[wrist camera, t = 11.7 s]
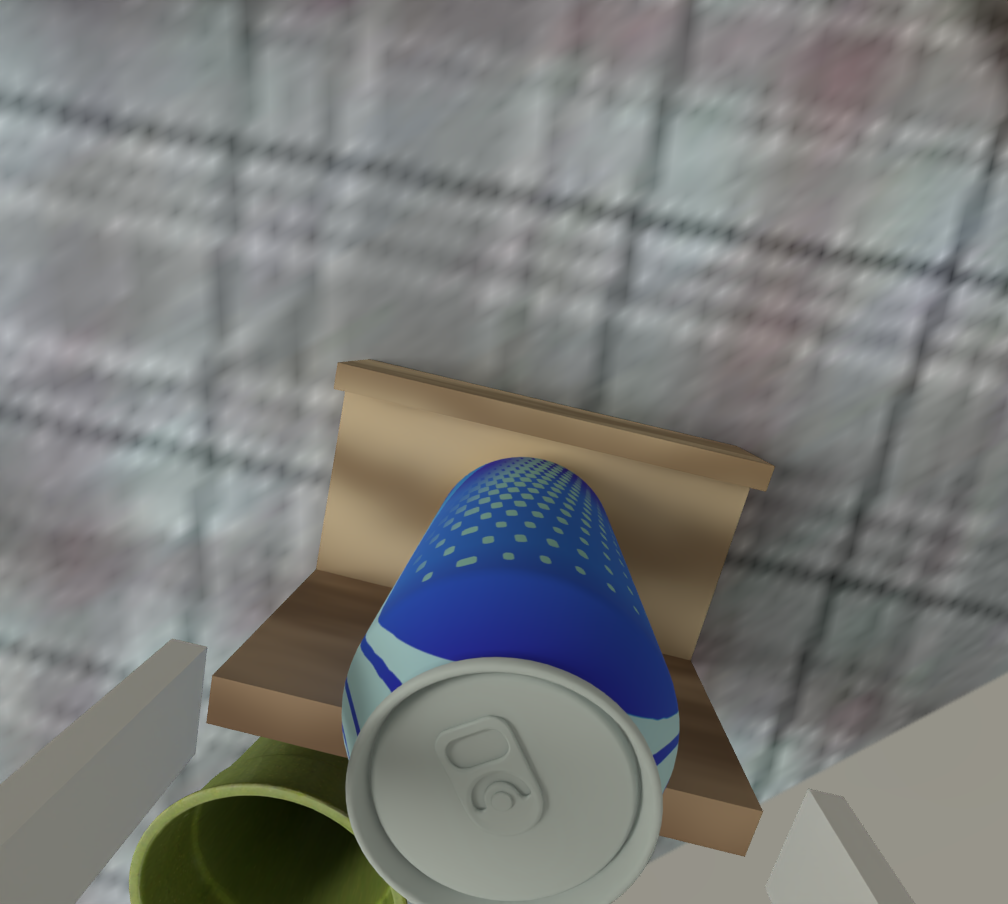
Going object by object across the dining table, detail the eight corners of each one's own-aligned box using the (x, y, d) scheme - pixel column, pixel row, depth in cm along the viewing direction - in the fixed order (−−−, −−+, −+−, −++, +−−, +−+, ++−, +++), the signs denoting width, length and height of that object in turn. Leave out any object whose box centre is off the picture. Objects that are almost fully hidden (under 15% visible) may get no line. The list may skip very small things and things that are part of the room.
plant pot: (478, 775, 33) (448, 991, 22) (309, 818, 35) (202, 1040, 24) (409, 610, 31) (338, 757, 20) (232, 663, 33) (77, 827, 22)
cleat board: (369, 359, 28) (250, 371, 16) (736, 446, 28) (880, 521, 16) (332, 578, 31) (206, 723, 19) (665, 659, 31) (744, 856, 19)
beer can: (630, 478, 26) (776, 693, 10) (578, 629, 27) (632, 1012, 12) (463, 430, 26) (346, 568, 10) (422, 584, 27) (268, 906, 12)
